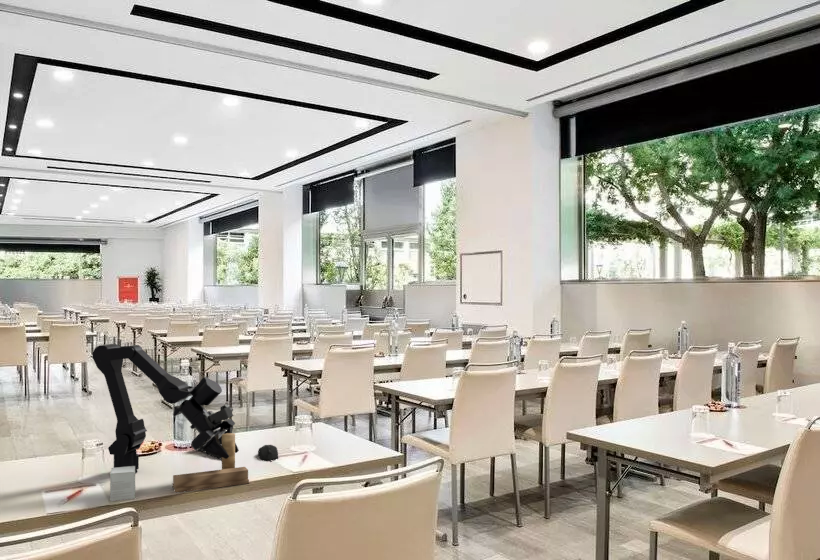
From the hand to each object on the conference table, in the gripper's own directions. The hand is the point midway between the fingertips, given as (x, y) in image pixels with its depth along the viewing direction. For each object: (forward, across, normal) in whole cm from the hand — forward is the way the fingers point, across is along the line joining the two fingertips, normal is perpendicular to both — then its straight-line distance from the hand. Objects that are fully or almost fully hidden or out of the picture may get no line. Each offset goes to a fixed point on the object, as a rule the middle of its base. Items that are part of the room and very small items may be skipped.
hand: (232, 454), depth 195 cm
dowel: (+4, 0, +6) cm, 7 cm away
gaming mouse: (+7, +23, +3) cm, 24 cm away
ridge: (+3, -8, +7) cm, 11 cm away
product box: (-10, -22, +20) cm, 31 cm away
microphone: (-8, +23, +18) cm, 31 cm away
